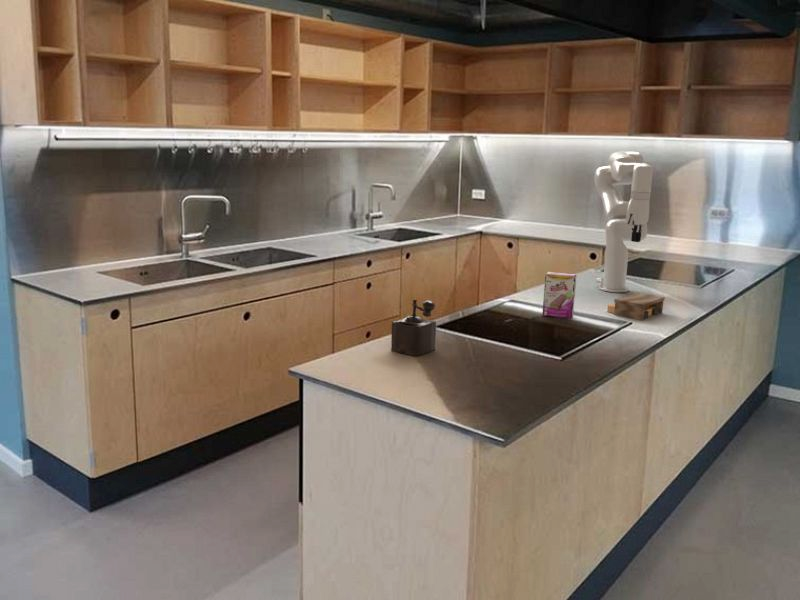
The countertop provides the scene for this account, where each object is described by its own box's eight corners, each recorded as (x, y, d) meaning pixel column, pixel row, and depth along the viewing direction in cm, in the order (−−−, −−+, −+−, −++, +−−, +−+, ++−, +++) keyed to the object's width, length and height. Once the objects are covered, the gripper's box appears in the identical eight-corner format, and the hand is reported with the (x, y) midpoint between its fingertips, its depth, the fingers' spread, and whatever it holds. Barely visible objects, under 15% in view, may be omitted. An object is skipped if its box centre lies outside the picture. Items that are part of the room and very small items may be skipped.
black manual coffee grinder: (388, 351, 226) (389, 295, 222) (410, 343, 235) (411, 289, 230) (428, 361, 217) (429, 303, 213) (449, 352, 225) (451, 296, 221)
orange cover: (607, 311, 281) (607, 305, 280) (622, 307, 289) (623, 300, 288) (641, 318, 271) (641, 311, 270) (655, 313, 279) (656, 306, 279)
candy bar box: (542, 316, 272) (544, 273, 268) (543, 313, 277) (546, 271, 273) (572, 319, 268) (575, 276, 265) (573, 316, 273) (576, 273, 269)
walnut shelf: (613, 314, 276) (614, 299, 275) (635, 307, 288) (637, 292, 287) (641, 320, 268) (642, 304, 267) (663, 312, 280) (664, 297, 279)
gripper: (641, 194, 295) (637, 238, 300) (621, 196, 285) (617, 242, 290) (658, 195, 289) (653, 240, 294) (638, 198, 280) (634, 244, 285)
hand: (635, 241), depth 292 cm, fingers closed
